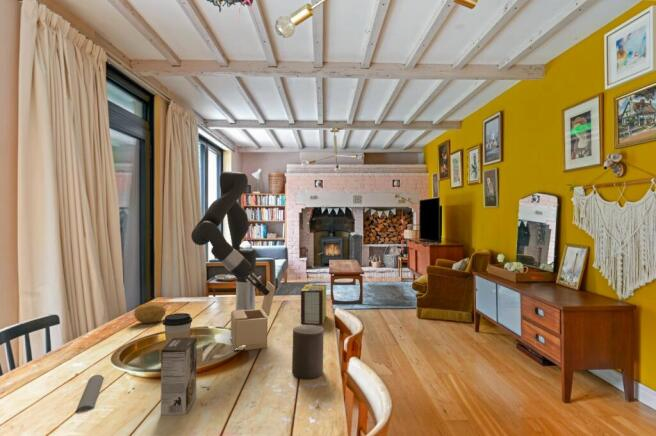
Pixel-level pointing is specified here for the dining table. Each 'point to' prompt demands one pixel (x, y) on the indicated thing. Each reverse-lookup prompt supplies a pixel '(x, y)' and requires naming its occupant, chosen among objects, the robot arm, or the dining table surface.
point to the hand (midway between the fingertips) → (267, 293)
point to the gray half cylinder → (90, 393)
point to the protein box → (313, 304)
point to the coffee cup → (177, 326)
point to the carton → (249, 329)
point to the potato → (150, 312)
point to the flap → (268, 298)
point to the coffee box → (178, 376)
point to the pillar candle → (307, 351)
